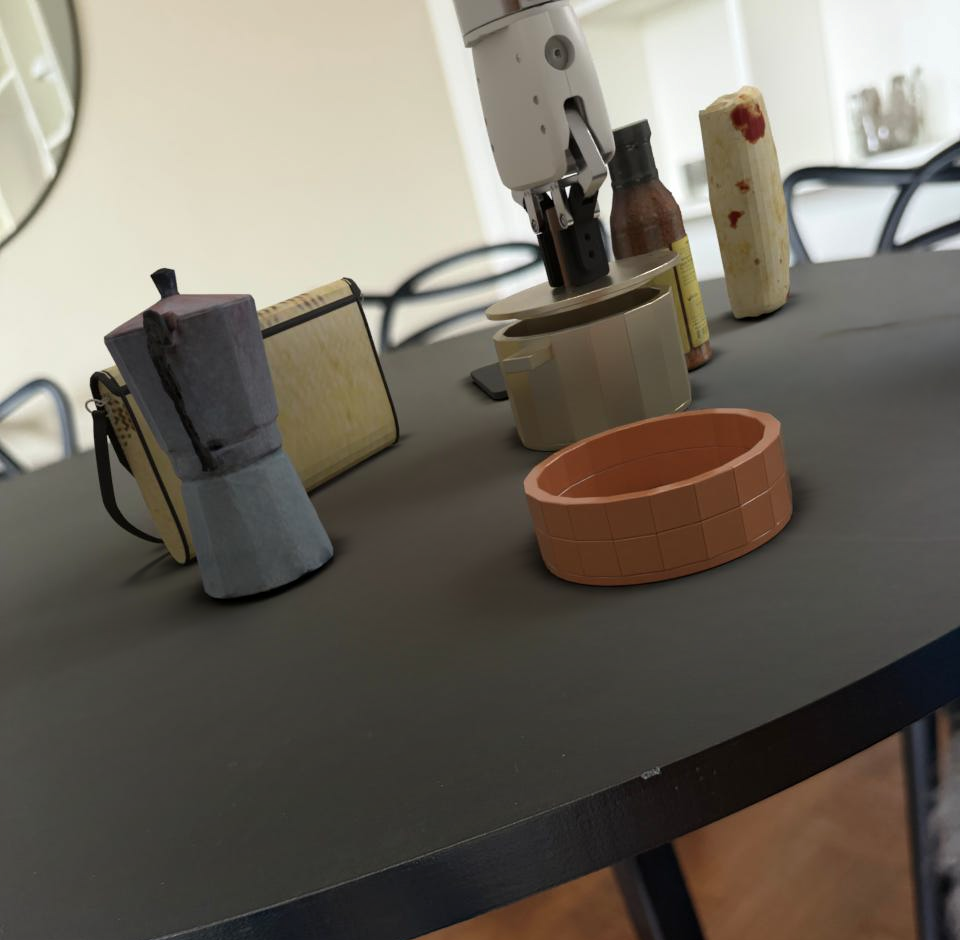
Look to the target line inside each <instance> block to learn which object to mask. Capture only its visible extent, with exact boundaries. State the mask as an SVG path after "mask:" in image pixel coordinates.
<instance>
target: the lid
mask: <svg viewBox="0 0 960 940" xmlns="http://www.w3.org/2000/svg"><path fill="white" fill-rule="evenodd" d="M546 215H547V219H548V223H549V227H550V231H551V235H552V239H553V243H554V247H555V251H556V254H557V258H558V262H559V266H560V270H561V274H562V278H563V282H564V285H563V286H560V287H557V288H552V287H551V286H550V285H549V282H548V280H547V281H544V282H541V283H538V284H536V285H534V286H531V287H528V288H525V289H523V290H521V291H518V292H516V293H513V294H511V295H509V296H507V297H505V298H502V299H500V300H499V301H497V302H495V303H494V304H492V305H490V306H489V307H487V309H486V310H485V316H486V319H487V320H488V321H492V322H500V321H509V320H510V321H511V320H529V319H537V318H543V317H548V316H552V315H557V314H561V313H565V312H569V311H572V310H576V309H580V308H583V307H586V306H590V305H593V304H596V303H599V302H602V301H605V300H608V299H611V298H614V297H616V296H619V295H622V294H624V293H627V292H629V291H631V290H634V289H636V288H638V287H640V286H642V285H644V284H646V283H648V282H649V281H651V280H652V279H653V278H654V277H655V276H657V275H659V274H662V273H664V272H665V271H667V270H669V269H671V268H672V267H674V266H675V265H677V264H678V263H679V262H680V255H679V252H677V251H661V252H654V253H648V254H643V255H638V256H633V257H629V258H624V259H620V260H616V261H615V260H613V261H608V263H609V268H610V272H609V274H608V275H606V276H604V277H601V278H598V279H596V280H593V281H590V282H588V283H585V284H582V285H580V286H571V285H570V283H569V279H568V275H567V271H566V267H565V263H564V259H563V255H562V252H561V248H560V244H559V240H558V236H557V232H556V231H559V230H562V229H563V228H562V227H561V225H560V222H559V219H558V215H557V212H556V208H555V207H552V208H549V209H547V210H546Z"/></svg>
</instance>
